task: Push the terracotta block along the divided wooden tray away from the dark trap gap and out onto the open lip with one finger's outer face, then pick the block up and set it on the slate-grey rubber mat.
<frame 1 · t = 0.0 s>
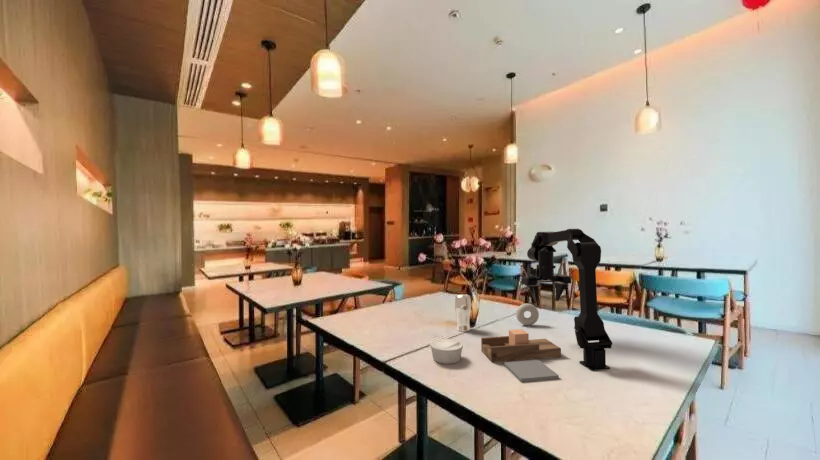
hand: (546, 301, 137), 15 cm above the table, tool pointing down, fingers open, 9 cm apart
donut: (527, 325, 154), on the table
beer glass: (463, 330, 149), on the table
mat: (530, 371, 106), on the table
divided wooden tray: (516, 354, 120), on the table
block: (518, 345, 120), point 3 cm above the table, touching divided wooden tray
ramekin: (446, 359, 118), on the table
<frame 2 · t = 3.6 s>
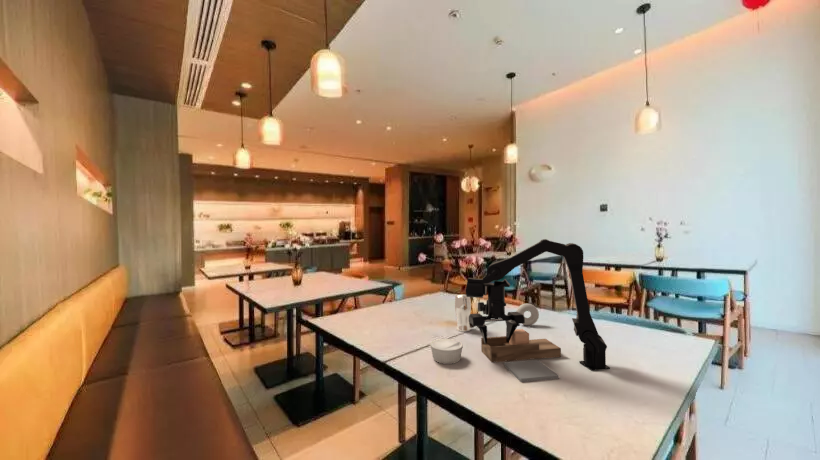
hand: (496, 342, 119), 5 cm above the table, tool pointing down, fingers open, 8 cm apart
block: (518, 345, 120), point 3 cm above the table, touching gripper, divided wooden tray
everything else where it was.
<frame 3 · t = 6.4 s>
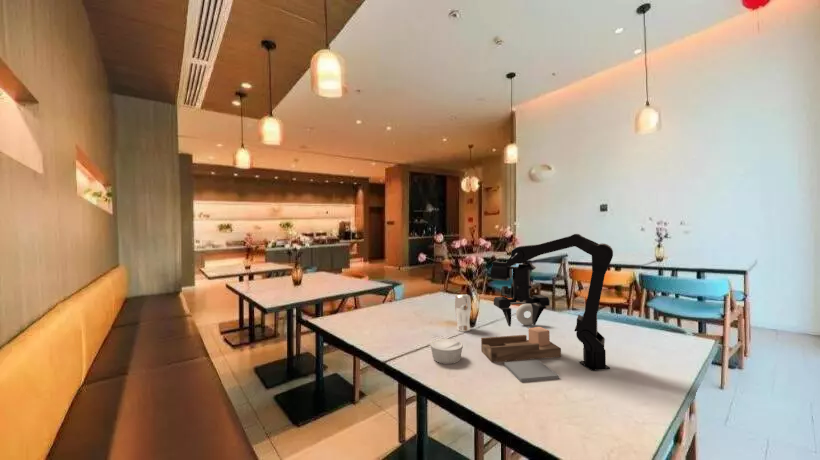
hand: (521, 325, 120), 10 cm above the table, tool pointing down, fingers open, 9 cm apart
block: (539, 343, 122), point 3 cm above the table, touching divided wooden tray
everything else where it was.
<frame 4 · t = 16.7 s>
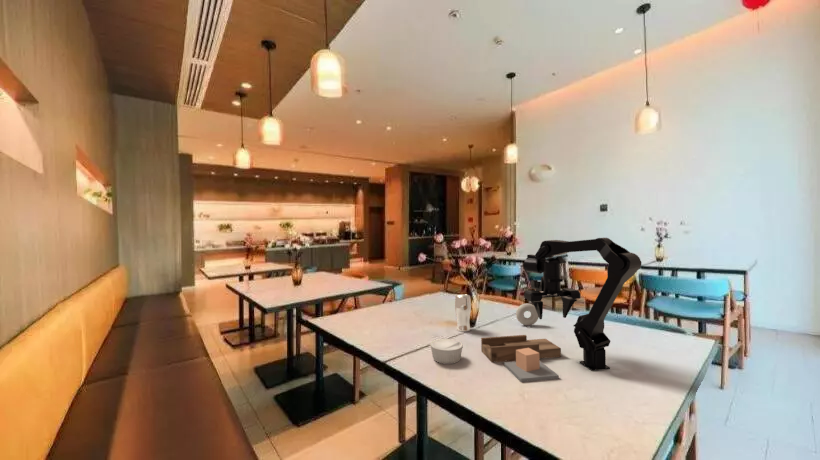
hand: (552, 318, 122), 12 cm above the table, tool pointing down, fingers open, 9 cm apart
block: (527, 367, 107), point 1 cm above the table, touching mat
everything else where it was.
at the end: block inside the target area on the mat (1.0 cm from its centre), point 1.0 cm above the mat's base; block tilted 0°; the gripper is holding nothing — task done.
